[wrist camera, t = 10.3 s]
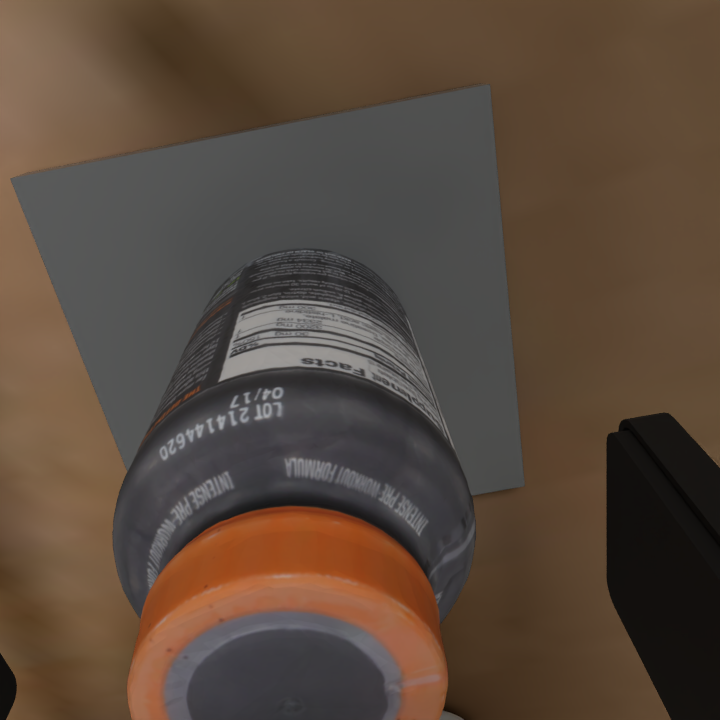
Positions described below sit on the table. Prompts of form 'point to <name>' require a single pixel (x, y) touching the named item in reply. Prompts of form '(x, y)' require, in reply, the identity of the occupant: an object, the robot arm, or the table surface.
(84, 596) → the table surface
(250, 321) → the pill bottle
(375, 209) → the plate
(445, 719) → the supplement bottle
